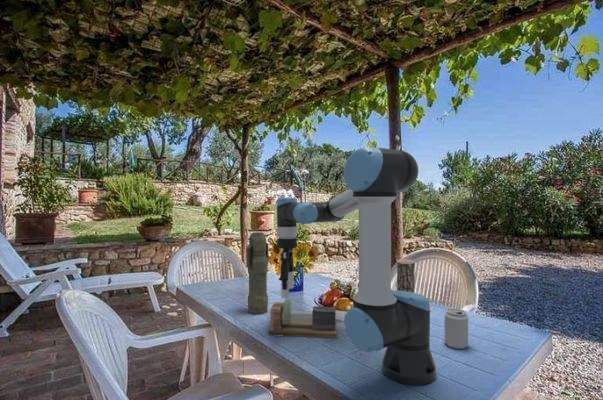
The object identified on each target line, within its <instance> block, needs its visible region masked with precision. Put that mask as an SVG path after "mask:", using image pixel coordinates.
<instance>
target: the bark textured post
mask: <svg viewBox="0 0 603 400" xmlns="http://www.w3.org/2000/svg"><path fill="white" fill-rule="evenodd" d="M396 263H397V264H396V291H407V292H412V293H415V271H416V269H415V267H416V266H415V263H416V261H415V260H412V259H405V258H403V259H397V262H396Z"/></svg>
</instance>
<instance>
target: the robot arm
mask: <svg viewBox="0 0 603 400" xmlns="http://www.w3.org/2000/svg"><path fill="white" fill-rule="evenodd" d="M418 176H419V164H418V162H417V160H416V158H415V157H414V156H413V155H411V153H410V152H407V151H405V150H403V149H390V148H384V147H376V146H369V147H359V148H357V149H355V150H354V151H352V153H351V154H350V156H349V157H348V158H347V160H346V162H345V165H344V167H343V180H344V182H345V184H346V187H347V188H348V189H347V190H345V191H343V192H342V193H340V194H338V195H336V196H334V197H333V198H331V199H329V200H327V201H323V202H322V201H317V202H316V201H312V202H311V201H310V202H309V201H307V202H306V201H305V202H304V201H303V202H302V201H301V202H297V197H292V196H291V197H289V196H288V197H287V196H286V197H278V198H277V201H276V224H277V225H276V229H275V231H276V232H277V234H276V235H277V237H278V238H277V240H276V242H277V243H276V244H277V245H276V246H277V248H278V249H281V250H282V252H281V256H280V257H281V261H280V274H279V276H280V277H279V278H278V281H280V285H281V287H280V293H281V294H280V297H281V299H289V298H290V289H291V290H293V289H294V272H296V268H295V267H294V252H293V250H294V249H296V248H297V247H298V238H297V237H298V225H297V224H302V225H309V224H310V225H311V224H313V223H314V224H315V223H330V222H331V223H336V222H341V221H342V220H344V218H345V217H346V215H349V214H350V213H352V212H355V211H356V210H358V291H357V292H356V293H355V294H354V295H353V299H352V301H353V304H352V305H353V306H352V307H351V308H349V309H348V310H347V311H346V312H345V314H344V318H343V319H344V321H343V323H344V328H345V332H346V334H347V336H348V338H349V339H350V341H351V343H352V344H353V345H354V347H356V348H357V349H358V350H360V351H361V352H365V353H372V352H380V351H381V350H382V349H384V348H385V352H384V354H383V357H382V362H381V366H382V367H381V369H382V372H383V373H384V375H386V377H387V378H389V379H391V380H393V381H395V382H397V383H400V384H405V385H411V386H414V385H415V386H422V385H427V384H431V383H432V382H434V381H435V379H437V378H436V377H437V367H436V364H435V361H434V357H433V354H432V351H431V348H430V346H431V345H430V343H431V342H430V340H431V339H430V337H431V336H430V332H431V329H430V328H431V327H430V326H431V323H430V322H431V320H430V319H431V309H430V307H431V305H430V300H429V299H428V298H427V296H424V295H423V294H420V293H417V292H414V293H412V292H407V291H397V290H392V206H391V205H392V203H393V202H394V201H395V200H396V199H397V195H398V194H400V193H403V192H404V191H407V190H408V189H409V188H411V187H413V185H414V184H415V182H416V181H417V180H418Z"/></svg>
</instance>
